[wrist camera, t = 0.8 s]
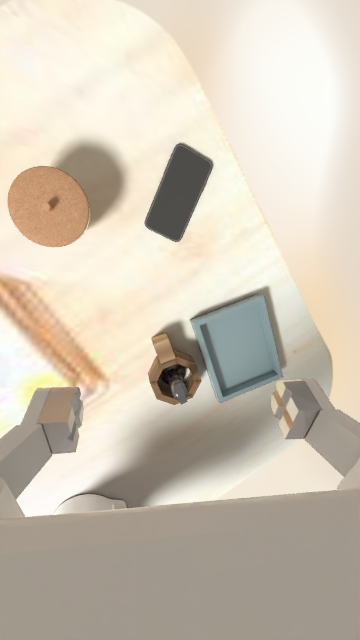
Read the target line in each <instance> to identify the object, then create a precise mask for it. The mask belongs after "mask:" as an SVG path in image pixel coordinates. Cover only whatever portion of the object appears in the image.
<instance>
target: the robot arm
mask: <svg viewBox="0 0 360 640" xmlns="http://www.w3.org/2000/svg"><path fill="white" fill-rule="evenodd" d="M275 387H276V389H277V391H275V392H274V393H273V394H272V397H271V408H272V411H273V414H274V416H275V417H277V418H278V419H279V420H280V422H279V427H280V429H281V431H282V433H283V436H284V438H285V439H305V441H307V442H308V443H309V444H310V445H311V446H312V447H313V448H314V449H315V450H316V451H317V452H318V453H319V454H320V455H321V456H322V457H324V458H325V459H326V460H327V461H328V462H329V463H330V464H331V465H332V466H333V467H334V468H335V469H336V470H337V471H338V472H340V473H341V475H342V476H344V478H343V479H342V481H341V482H340V483H339V485H338V487H337V490H332V491H319V492H308V493H297V494H285V495H274V496H263V497H251V498H239V499H228V500H216V501H205V502H193V503H182V504H171V505H159V506H148V507H137V508H127V506H126V503H125V501H123V500H112V499H108V498H106V497H103V496H100V495H95V494H85V495H79V496H76V497H73V498H71V499H69V500H67V501H65V502H64V503H62V504H61V505H60V506H59V507H58V508H57V509H56V511H55V512H54V514H53V515H45V516H34V517H24V516H25V515H24V514H23V512H22V510H21V508H20V507H19V505H18V503H17V501H16V499H17V498H18V496H19V495H20V494H21V493H22V491H23V490H24V489H25V488H26V487H27V485H28V484H29V483H30V482H31V481H32V479H33V478H34V477H35V476H36V474H37V473H38V472H39V471H40V470H41V468H42V467H43V466H44V465H45V464H46V462H47V461H48V460H49V459H50V457H51V456H52V454H59V453H71V452H76V448H77V444H78V439H79V433H78V428H79V427H80V426H81V425H82V420H83V403H82V401H81V400H80V395H81V393H80V389H79V388H78V387H65V388H37V390H36V391H35V392H34V394H33V397H32V399H31V401H30V404H29V406H28V409H27V411H26V413H25V416H24V418H23V420H22V423H21V425H16V426H15V427H14V428H13V429H11V430H10V431H9V432H8V433H7V434H5V435H4V436H3V437H2V438H1V439H0V640H360V423H359V422H357V421H356V420H354V419H353V418H351V417H350V416H348V415H346V414H345V413H343V412H342V411H340V410H336V409H335V408H334V406H333V405H332V404H331V402H330V401H329V399H328V398H327V396H326V395H325V393H324V392H323V390H322V389H321V388H320V386H319V385H318V383H317V382H316V381H315V380H314V379H295V380H279V381H278V382H277V383H276V386H275Z"/></svg>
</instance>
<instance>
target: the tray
mask: <svg viewBox="0 0 360 640" xmlns="http://www.w3.org/2000/svg"><path fill="white" fill-rule="evenodd" d="M190 321H191V324H192V327H193V330H194V333H195V336H196V339H197V342H198V345H199V348H200V351H201V354H202V357H203V360H204V363H205V366H206V369H207V372H208V375H209V378H210V381H211V384H212V387H213V389H214V392H215V395H216V398H217V400H218V401H219V403H222V402H224V401H227V400H229V399H231V398H234V397H236V396H239V395H241V394H243V393H246V392H248V391H251V390H253V389H255V388H258V387H260V386H263V385H265V384H267V383H270V382H272V381H275V380H277V379H279V378H282V377H283V374H282V370H281V366H280V362H279V357H278V353H277V349H276V345H275V341H274V336H273V332H272V328H271V324H270V320H269V315H268V311H267V307H266V303H265V299H264V296H263V295H260V294H256V295H253V296H251V297H248V298H245V299H243V300H240V301H238V302H235V303H232V304H230V305H227V306H225V307H222V308H219V309H217V310H214V311H211V312H209V313H206V314H204V315H201V316H198V317H196V318H193V319H190Z"/></svg>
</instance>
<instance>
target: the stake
mask: <svg viewBox="0 0 360 640" xmlns="http://www.w3.org/2000/svg"><path fill="white" fill-rule="evenodd" d="M184 376H185V370H184V367H183V366H182V365H180V364H175V365H172V366H170V367H167V368H165V369H163V370H162V373H161V378H162V380H163V381H164V382H165V383H166V384H168V385H170V386H171V389H172V392H173V395H174V398H175V399H176V400H177V401H180V403H181V404H183V403H186V402H187V399H186V398H187V397H188V391H187V389H186V386H185V384H184V382H183V378H184Z"/></svg>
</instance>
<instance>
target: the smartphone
mask: <svg viewBox="0 0 360 640" xmlns="http://www.w3.org/2000/svg"><path fill="white" fill-rule="evenodd" d="M211 170H212V164H211V162H210V161H209V160H208V159H206V158H204V157H203V156H201V155H199V154H198V153H196V152H194V151H193V150H191V149H189V148H188V147H186V146H184V145H182V144H178V145H176V146H175V148H174V150H173V153H172V154H171V158H170V159H169V162H168V164H167V167H166V169H165V172H164V175H163V177H162V180H161V182H160V185H159V187H158V190H157V192H156V195H155V197H154V200H153V202H152V205H151V207H150V210H149V212H148V214H147V217H146V219H145V226H146V227H147V228H148V229H150V230H152V231H154V232H156V233H158V234H160V235H162V236H164V237H166V238H168V239H170V240H172V241H175V242H178V241H180V240H181V238H182V236H183V234H184V231H185V229H186V227H187V225H188V222H189V220H190V218H191V215H192V213H193V211H194V209H195V206H196V204H197V202H198V199H199V197H200V195H201V193H202V191H203V189H204V187H205V184H206V181H207V179H208V177H209V174H210V172H211Z"/></svg>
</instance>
